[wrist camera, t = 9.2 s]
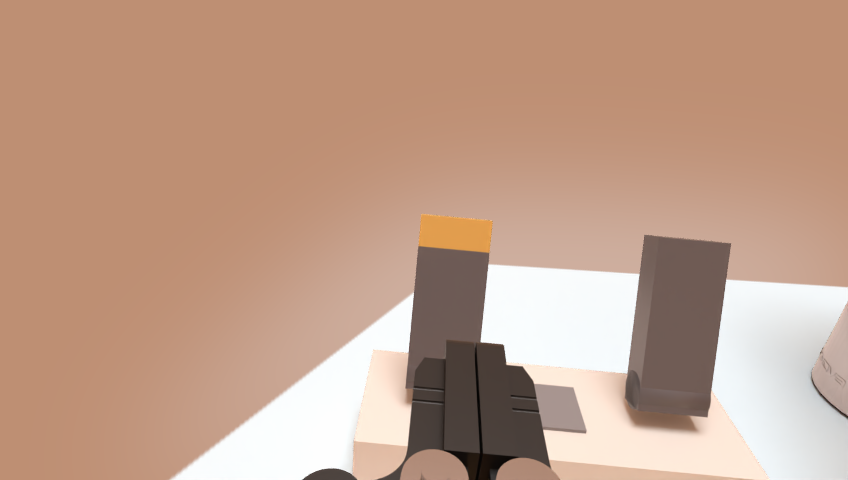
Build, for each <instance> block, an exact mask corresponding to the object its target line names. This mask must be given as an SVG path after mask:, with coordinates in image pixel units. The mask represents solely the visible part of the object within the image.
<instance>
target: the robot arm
mask: <svg viewBox="0 0 848 480" xmlns="http://www.w3.org/2000/svg"><path fill="white" fill-rule="evenodd" d="M812 379H813V381H814V384H815V386H816V387H817V388H818V390H819V391H820V393H821V394H822V395H823V396H824V397H825V398H826V399H827V400H828V401H829V402H830V403H831V404H833V405H834V406H835V407H836V408H838V409H839V410H840V411H841V412H843V413H844V414H846V415H847V416H848V302H847V304H846V306H845V308H844V310H843V312H842V314H841V316H840V317H839V319H838V321H837V323H836V325H835V327H834V329H833V331H832V333H831V335H830V337H829V338H828V340H827V342H826V344H825V346H824V347H823V348H822V350H821V352H820V355H819V358H818V360H817V362H816V364H815V366H814V367H813V369H812ZM303 480H357V479H356V478H355V477H354V476H353V475H352V474H350V473H348V472H346V471H344V470H340V469H322V470H319V471H316V472H314V473H312V474H310V475H308V476H307V477H305V478H304V479H303ZM376 480H560V479H559V477H558V476H557V475H556V473H555V472H554V471H553V470H552V469H551V466H550V462H549V457H548V452H547V447H546V442H545V437H544V432H543V427H542V422H541V417H540V414H539V406H538V401H537V396H536V391H535V386H534V381H533V380H532V378H531V377H530V376H529V374H528V373H527V372H526V370H525V369H524V368H523V366H514V365H506V358H505V350H504V345H503V344H492V343H481V342H475V344H474V343H473V342H469V341H458V340H447V339H446V341H445V349H444V358H443V359H437V358H426V357H424V359H423V360H422V362H421V363H420V364H419V366H418V367H417V368H416V370H415V376H414V387H413V397H412V407H411V417H410V427H409V437H408V447H407V453H406V456H405V459H404V461H403V462H402V464H401V465H400V466H399V467H398V468H397V469H396V470H395V471H394V472H392V473H391V474H389V475H387V476H385V477H383V478H379V479H376Z"/></svg>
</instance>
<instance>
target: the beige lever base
mask: <svg viewBox="0 0 848 480" xmlns="http://www.w3.org/2000/svg"><path fill="white" fill-rule="evenodd" d="M408 354H409V353H403V352H392V351H382V350H373V353H372V358H371V363H370V367H369V372H368V377H367V382H366V386H365V391H364V396H363V400H362V405H361V410H360V414H359V419H358V424H357V428H356V433H355V438H354V450H353V476H354V477H355V478H356V479H357V480H376V479H379V478H383V477H385V476H387V475H389V474H391V473H392V472H394V471H395V470H396V469H397V468H398V467H399V466H400V465H401V464H402V462H403V461H404V459H405V456H406V453H407V447H408V437H409V427H410V417H411V407H412V397H413V389H405V387H406V376H407V365H408ZM506 365H514V366H523V368H524V369H525V370H526V372H527V373H528V374H529V376H530V377H531V378H532V380H533V381H534V386H535V391H536V396H537V401H538V406H539V414H540V417H541V422H542V427H543V432H544V437H545V442H546V447H547V452H548V457H549V462H550V466H551V469H552V470H553V471H554V472H555V473H556V475H557V476H558V477H559V479H560V480H770V479H769V478H768V476H767V474H766V473H765V471H764V470H763V468H762V467H761V465H760V464H759V462H758V461H757V459H756V458H755V456H754V455H753V453H752V451H751V450H750V448H749V447H748V445H747V444H746V442H745V441H744V439H743V438H742V436H741V435H740V433H739V432H738V430H737V428H736V427H735V425H734V424H733V422H732V421H731V419H730V418H729V416H728V415H727V413H726V412H725V410H724V409H723V407H722V405H721V404H720V402H719V401H718V399H717V398H716V396H715V395H714V393H713V392H712V390H711V404H710V408H709V411H708V417H697V416H687V415H676V414H666V413H655V412H645V411H637V410H636V409H631V408H630V407H629V405H628V403H627V400H626V399H625V384H626V378H627V374H624V373H613V372H603V371H592V370H582V369H571V368H561V367H550V366H540V365H529V364H519V363H508V362H506Z"/></svg>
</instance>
